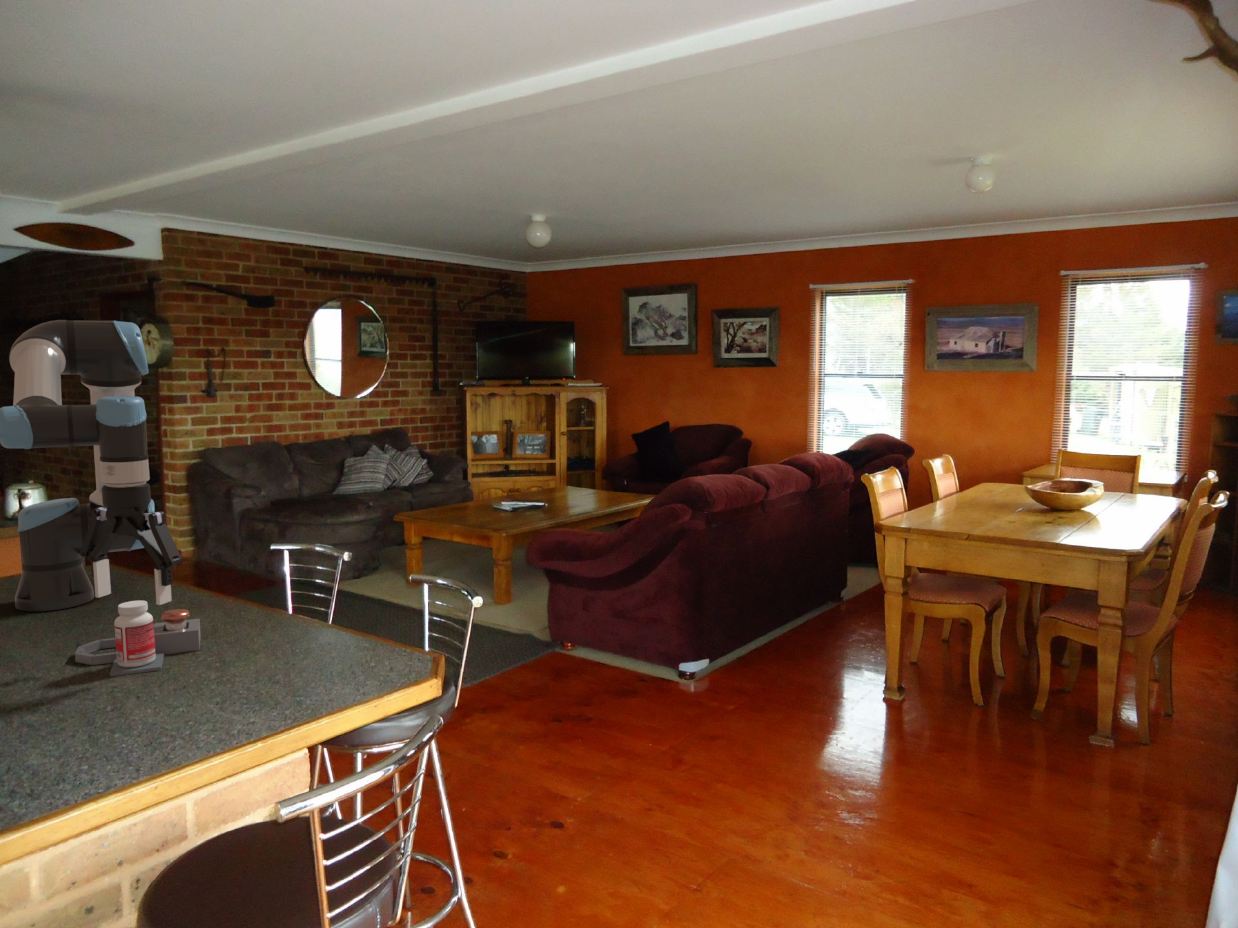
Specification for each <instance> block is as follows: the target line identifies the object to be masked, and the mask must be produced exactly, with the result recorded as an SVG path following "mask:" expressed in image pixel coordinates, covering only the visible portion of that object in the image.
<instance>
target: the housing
mask: <svg viewBox="0 0 1238 928" xmlns="http://www.w3.org/2000/svg"><path fill="white" fill-rule="evenodd" d="M200 621H201V619H200V618H191V619H186V626H187V629H180V630H171V631H166V625H165V621H163V622H156V623H154V622H153V625H154V639H155V654H160V653H164V655H171V654H172V655H173V654H180V653H189V652H195V651H200V648H201V639H202V636H201V622H200ZM112 648H116V640H115V637H112V638H111V637H109V638H102V639H97V640H94V641H91V642H88V643H86V644H82V645H79V646H78V647H77V649H76V650H75V652H74V658H75V659H74V661H75V663H78V664H85V665H90V666H96V665H102V664H103V665H104V664H113V663H114V660H115V659H117V653H116V651H115V652H107V653H97V654H93V653H94V652H96V651H100V650H104V649H112Z"/></svg>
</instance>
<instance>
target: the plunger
mask: <svg viewBox="0 0 1238 928" xmlns="http://www.w3.org/2000/svg"><path fill="white" fill-rule="evenodd" d="M160 616H161V621H163V622H165V625H166V631H171V630H180V629H187V626H186V620H187V619H188V618H190V610H189V609H186V608H177V609H169V610H166V611H163V612H161V615H160Z"/></svg>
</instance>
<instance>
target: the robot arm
mask: <svg viewBox="0 0 1238 928" xmlns="http://www.w3.org/2000/svg"><path fill="white" fill-rule="evenodd" d="M145 350H146V349H145V345H144V341H143V336H142V333H141V330H140V328H139V326H138V325H137V324H136V323H134V322H131V321H130V322H127V321H120V320H119V321H118V320H70V319H69V320H67V319H57V320H50V321H46V322H42V323H39V324H37V325H34V326H32V327H31V328H29V329H27V330H26V331H24V332H22V334H21V335H19V337H17V339H16V340H15V341H14V343H13V344H12V345H11V347H10V351H9V364H10V367H11V369H12V370H13V373H14V382H13V383H14V386H13V387H14V388H13V403H12V404H13V405H11V406H10V405H8V406H2V407H0V445H1V446H2V447H3V448H6V449H24V450H30V449H42V448H43V449H45V448H63V447H64V448H65V447H83V446H84V447H86V446H89V447H91V446H93V455H94V456H93V457H94V468H95V469H94V470H95V484H96V485H95V487H96V489H95V491H93V492H92V493H91V494H90V495H89V503H80V501H79V500H78V498H75V497H69V498H67V497H66V498H57V499H52V500H46V501H42V502H37V503H34V504H30V505H28V506H25V507H24V508H22V509H20V511H19V513H18V517H17V519H18V520H17V521H18V522H17V523H18V524H17V525H18V528H17V532H18V533H19V548H20V559H21V560H20V562H21V576H20V579H19V582H18V585H17V589H16V592H15V596H14V606H15V609H16V610H19V611H22V612H23V611H24V612H48V611H56V610H65V609H70V608H73V607H78V606H81V605H84V604H87V603H89V602H91V601H93V599H94V598H98V599H99V598H102V597H105V596H108V595H110V594H112V588H111V573H110V559H109V558H108V556H107V554H108V553H113V552H124V551H126V552H131V551H133V550H139V549H145V550H146V552H147V553H148V555H149V556H150V558H151V559H152V560H153V561H154V563H155V565H156V566H157V567H156V568H154V570H153V571H154V584H155V601H156V605H157V606H161V605H164V604H167V603H169V602H170V603H171V602H172V598H173V597H172V585H173V584H174V576H173V575H174V574H173V568H174V566H176V565H178V564H181V563H183V558H182V556H181V553H180V552H179V550H178V547H177V546H176V542H175V541H174V539H173V535H172V534H171V532H170V530H169V527H168V525H167V523H166V516H165V512H164V511H155V502H154V500H153V499H152V497H151V496H152V495H151V494H152V493H151V484H149V483H148V481H149V480H150V479H151V477H150V476H151V475H150V467H149V454H148V432H147V431H148V430H147V414H148V413H147V412H146V406H145V400H144V399H143V398H142V397H140V396H136V395H135V389H136V388H137V387H139V386H141V384H142V376H145V375H148V374H149V367H148V361H147V354H146V351H145ZM61 375H65V376H66V375H72V376H73V375H75V376H76V375H79V376H80V382H81V384H82V385H83V386H85V387H86V388H88V389H89V395H90V396H89V397H90V404H63V403H62V402H63V401H62V377H61ZM83 558H86V559H88V561H89V562H90V567H91V576H92V578H93V582H94V587H93V585H92V583H91V581H90V579H89V576H88V574H87V572H86V570H85V567H84V563H83Z"/></svg>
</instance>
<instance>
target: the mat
mask: <svg viewBox="0 0 1238 928" xmlns="http://www.w3.org/2000/svg"><path fill="white" fill-rule="evenodd" d="M164 658H165V654H164V653H160V654H156V658H155V660H154V661H153V662H151V663H149V664H147V665H144V666H140V667H130V668H129V667H121V666H119V665H118V663H117V659H115V660H114V663H112V666H111V669H110V672H109V677H116V676H117V677H118V676H125V675H133V674H142V673H148V672H155V671H156V672H157V671H162V667H163V663H164Z"/></svg>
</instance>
